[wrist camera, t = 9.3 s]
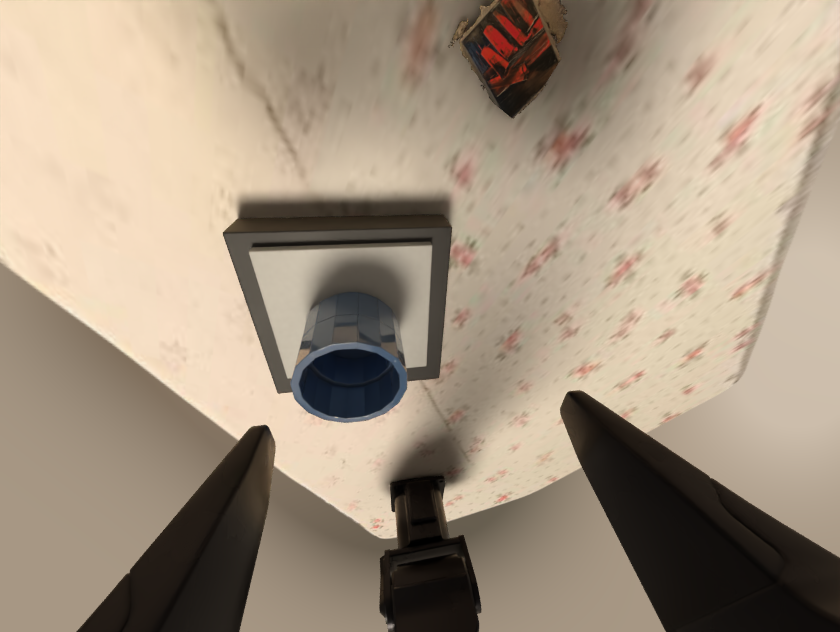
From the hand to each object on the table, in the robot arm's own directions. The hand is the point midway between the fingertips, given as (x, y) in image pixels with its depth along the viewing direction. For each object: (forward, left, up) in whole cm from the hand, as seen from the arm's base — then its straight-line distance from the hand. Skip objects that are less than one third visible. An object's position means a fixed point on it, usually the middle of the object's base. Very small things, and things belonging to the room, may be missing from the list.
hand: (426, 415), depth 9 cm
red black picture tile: (+10, -6, -13) cm, 18 cm away
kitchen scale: (-4, +3, -13) cm, 14 cm away
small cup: (-4, +3, -10) cm, 11 cm away
